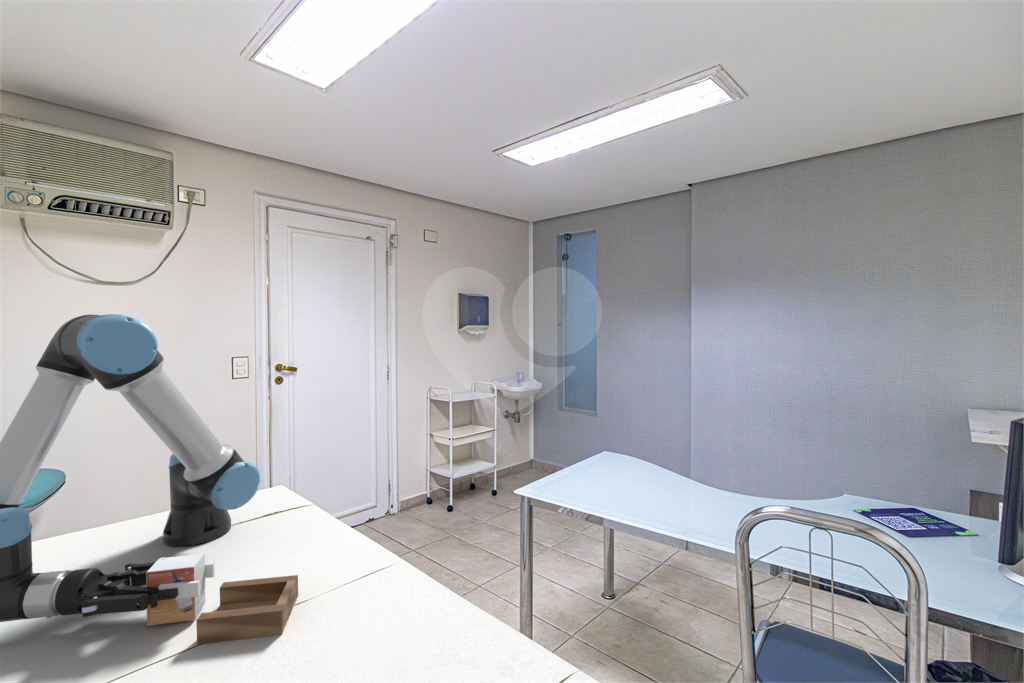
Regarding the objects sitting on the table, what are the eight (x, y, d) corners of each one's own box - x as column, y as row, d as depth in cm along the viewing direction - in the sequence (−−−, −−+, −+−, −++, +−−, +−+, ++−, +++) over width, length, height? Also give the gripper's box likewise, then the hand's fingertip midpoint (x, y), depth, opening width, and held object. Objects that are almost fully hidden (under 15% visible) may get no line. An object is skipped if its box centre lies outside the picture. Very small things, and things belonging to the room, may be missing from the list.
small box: (146, 627, 86) (144, 572, 85) (160, 609, 91) (158, 557, 91) (195, 620, 88) (194, 566, 87) (206, 602, 93) (205, 552, 93)
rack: (224, 603, 94) (223, 582, 94) (298, 595, 97) (297, 575, 97) (197, 644, 82) (196, 620, 82) (282, 634, 85) (281, 610, 85)
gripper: (101, 583, 95) (226, 571, 100) (26, 647, 77) (183, 629, 81) (100, 547, 95) (225, 537, 99) (24, 603, 76) (182, 587, 81)
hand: (206, 578), depth 90 cm, fingers closed on small box, 6 cm apart
